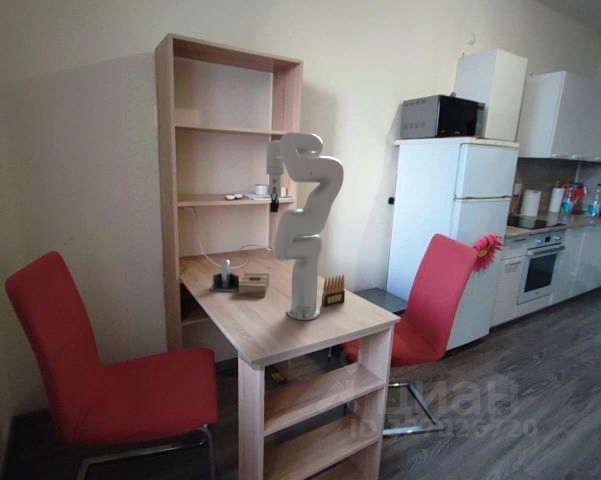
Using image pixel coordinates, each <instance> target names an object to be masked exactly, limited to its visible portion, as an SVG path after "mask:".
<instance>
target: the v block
mask: <svg viewBox="0 0 601 480" xmlns="http://www.w3.org/2000/svg"><path fill="white" fill-rule="evenodd" d="M239 278H240V277H239V274H236V273H234V272H231V271H230V287H228V288H223V287H222V280H221V272H218V273H214V274H212V286H211V287H210V288H209V292H219V293H222V292H223V293H239V284H240V282H241V281H240V279H239Z"/></svg>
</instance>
